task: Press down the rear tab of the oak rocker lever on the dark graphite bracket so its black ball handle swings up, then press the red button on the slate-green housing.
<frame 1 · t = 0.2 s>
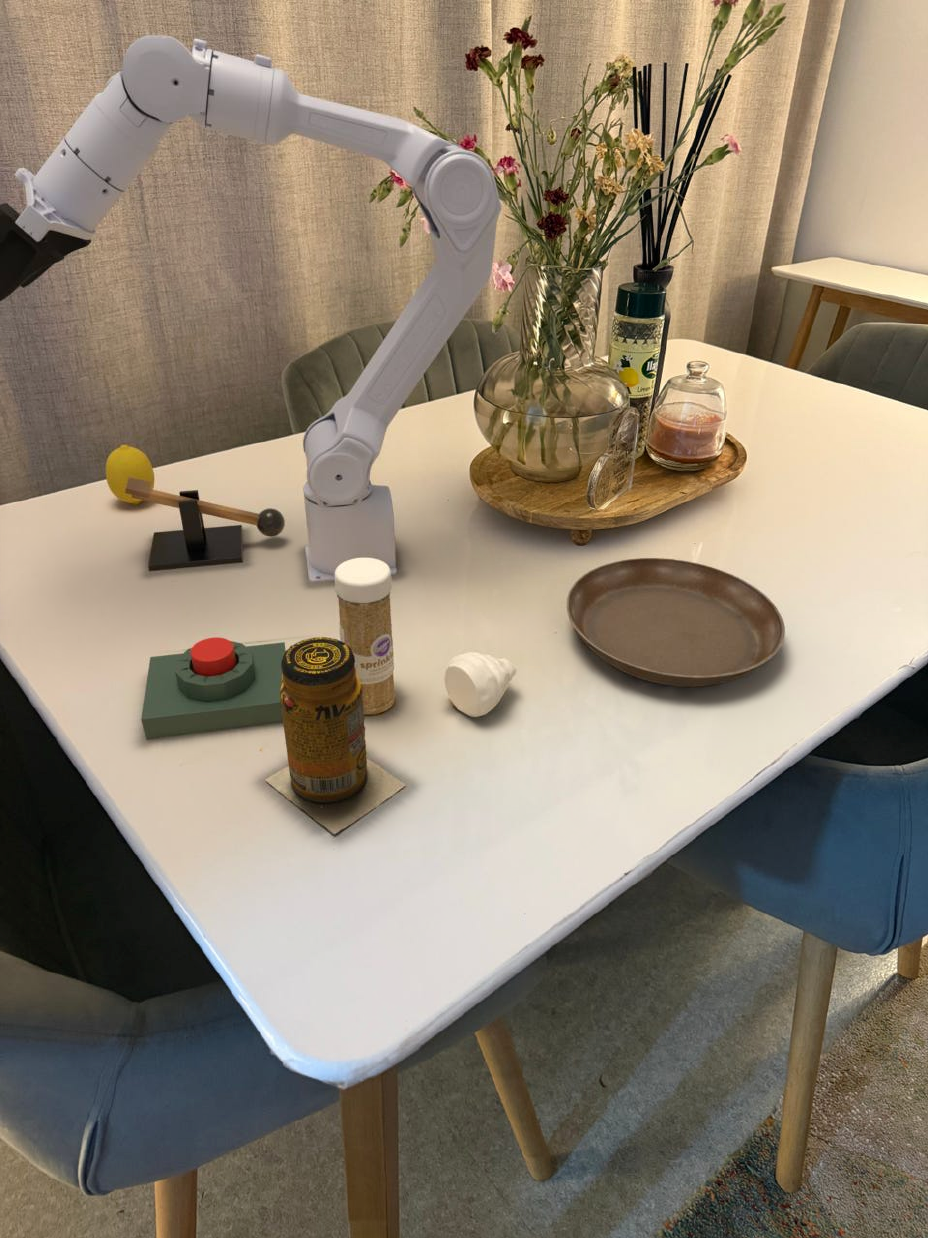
hand: (1, 286, 78), 31 cm above the table, tool tilted 45°, fingers open, 7 cm apart
condiment: (335, 786, 70), on the table
lever: (207, 508, 99), point 5 cm above the table, hinge at -20.0°
lemon: (136, 506, 111), on the table
button box: (220, 698, 79), on the table
sprinkles bottle: (370, 702, 79), on the table
white meringue: (485, 702, 79), on the table
bracket: (198, 552, 101), on the table
button: (213, 657, 76), point 4 cm above the table, slide at 0.1 cm
plant saucer: (669, 639, 87), on the table
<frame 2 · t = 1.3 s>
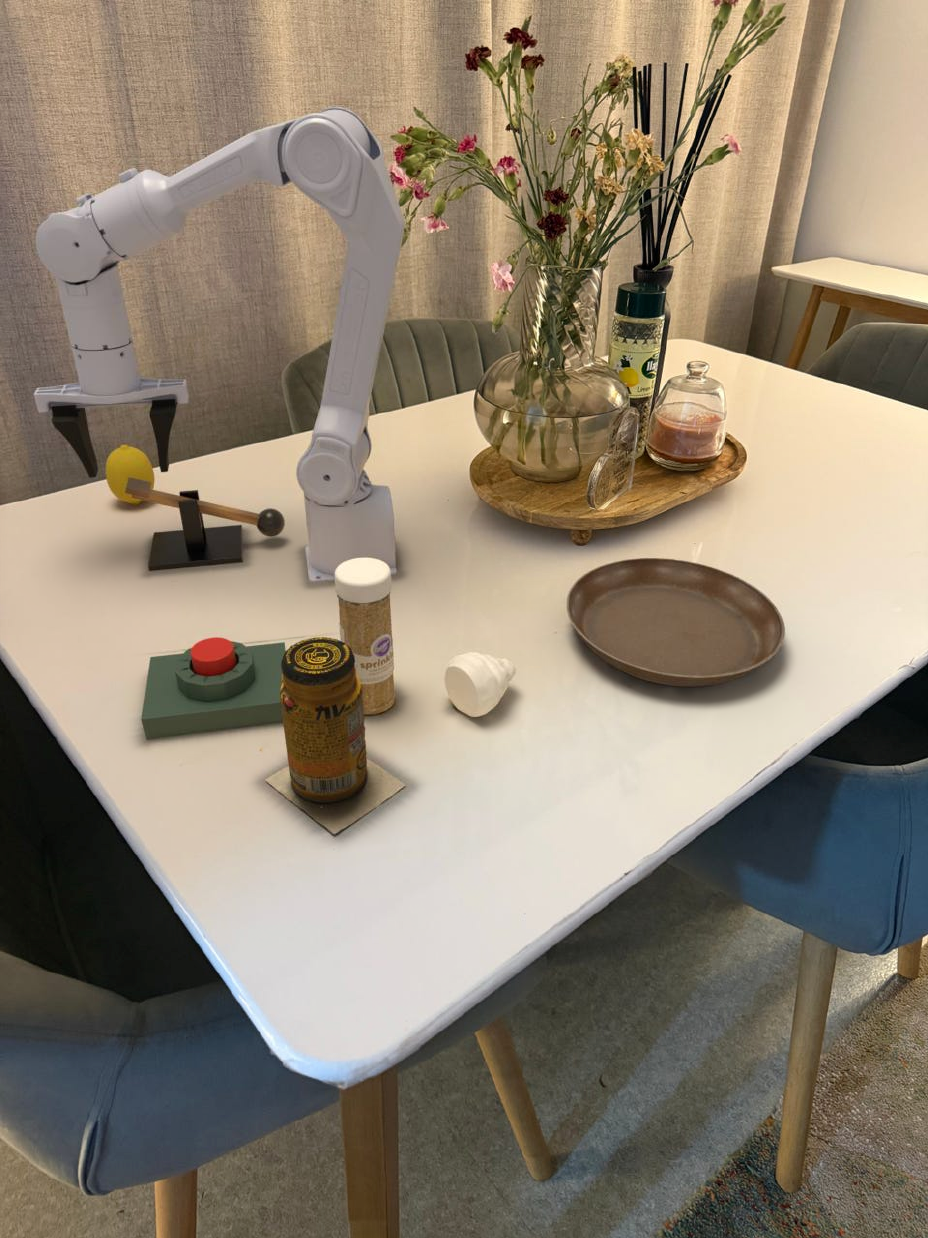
hand: (129, 471, 94), 10 cm above the table, tool pointing down, fingers open, 7 cm apart
nothing on the table moved.
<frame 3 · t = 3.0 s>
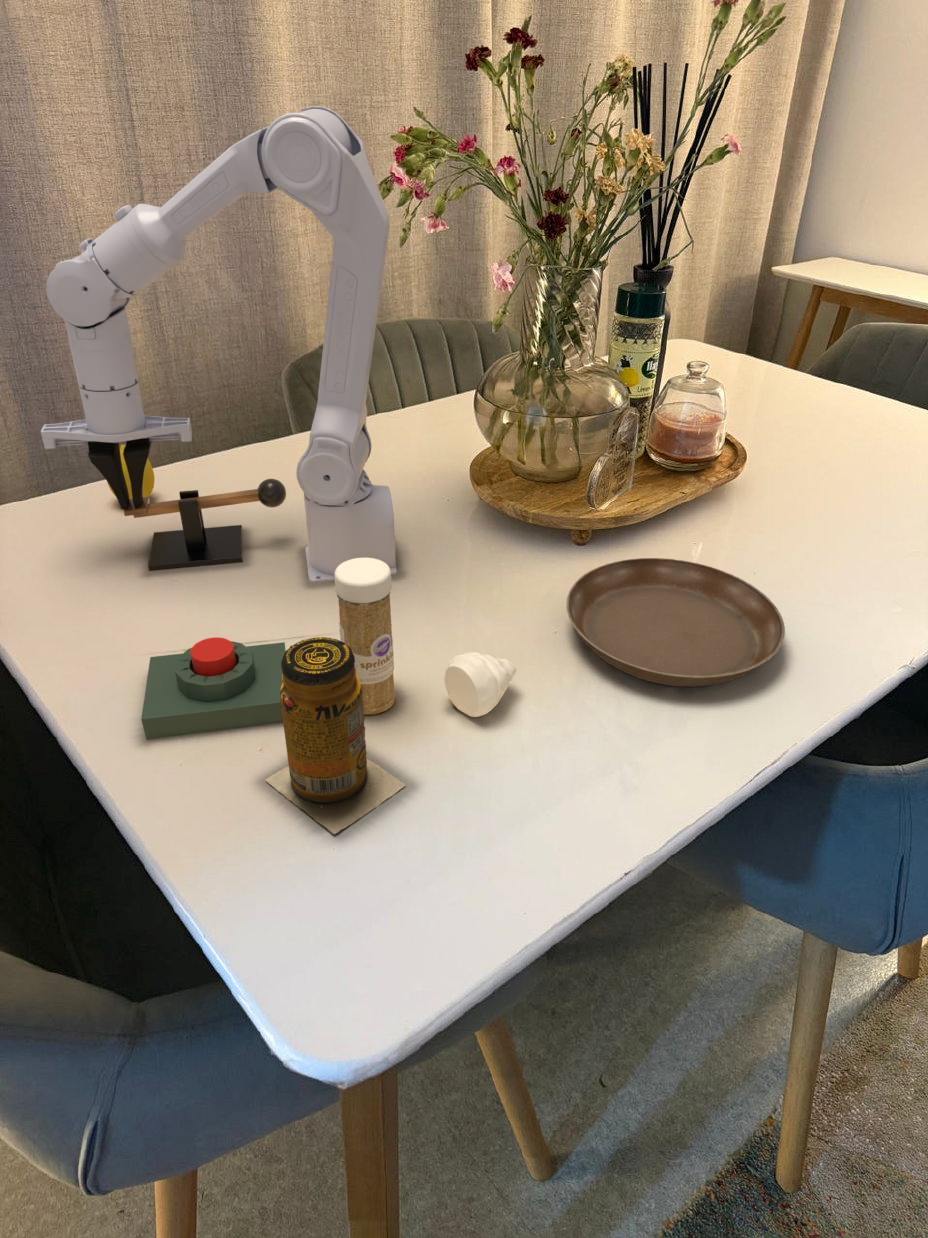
hand: (132, 505, 97), 6 cm above the table, tool pointing down, fingers closed, pressing on lever
lever: (207, 501, 98), point 6 cm above the table, hinge at 3.5°, touching gripper
everything else where it was.
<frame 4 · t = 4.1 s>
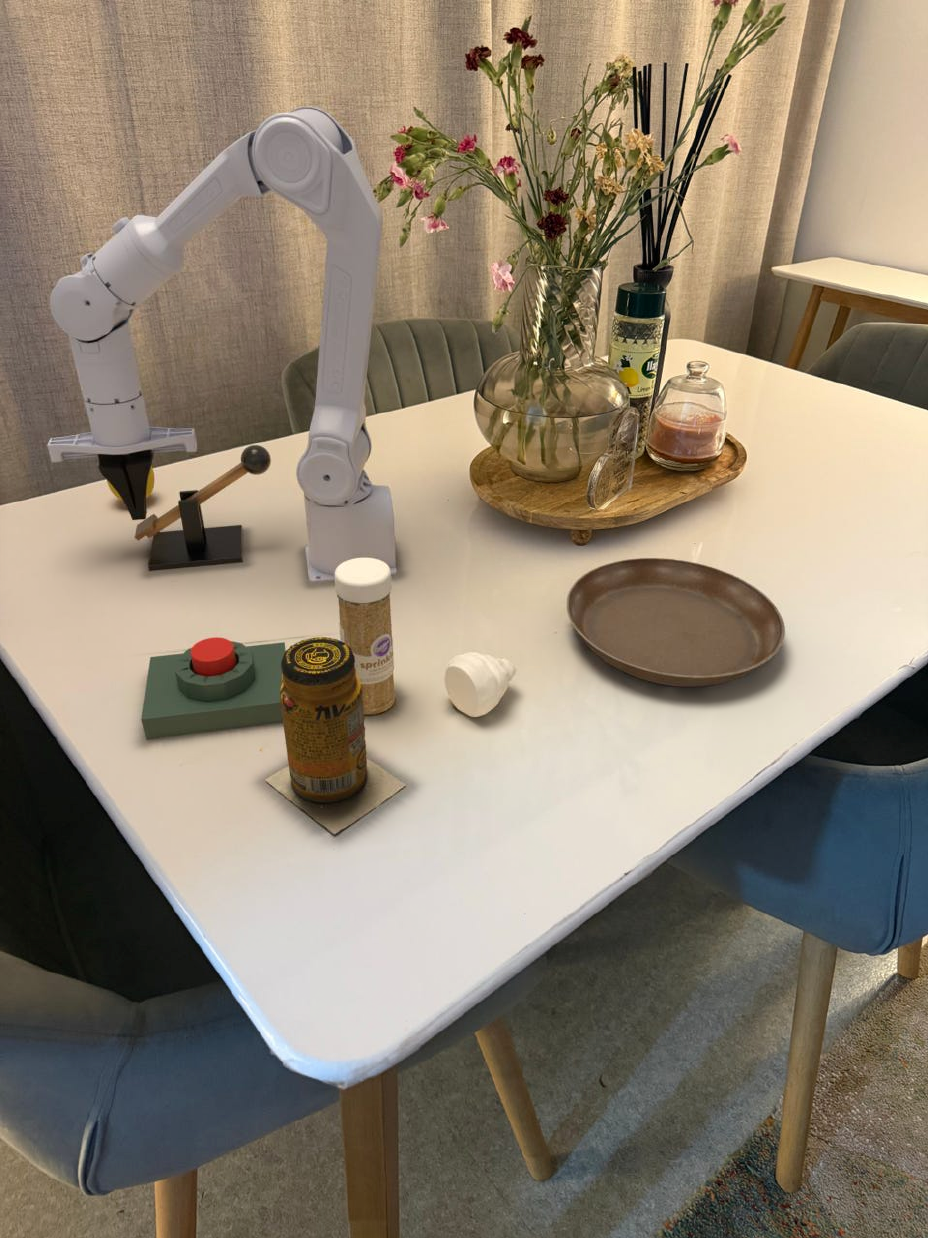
hand: (139, 515, 97), 5 cm above the table, tool pointing down, fingers closed
lever: (203, 494, 98), point 7 cm above the table, hinge at 30.9°
everything else where it was.
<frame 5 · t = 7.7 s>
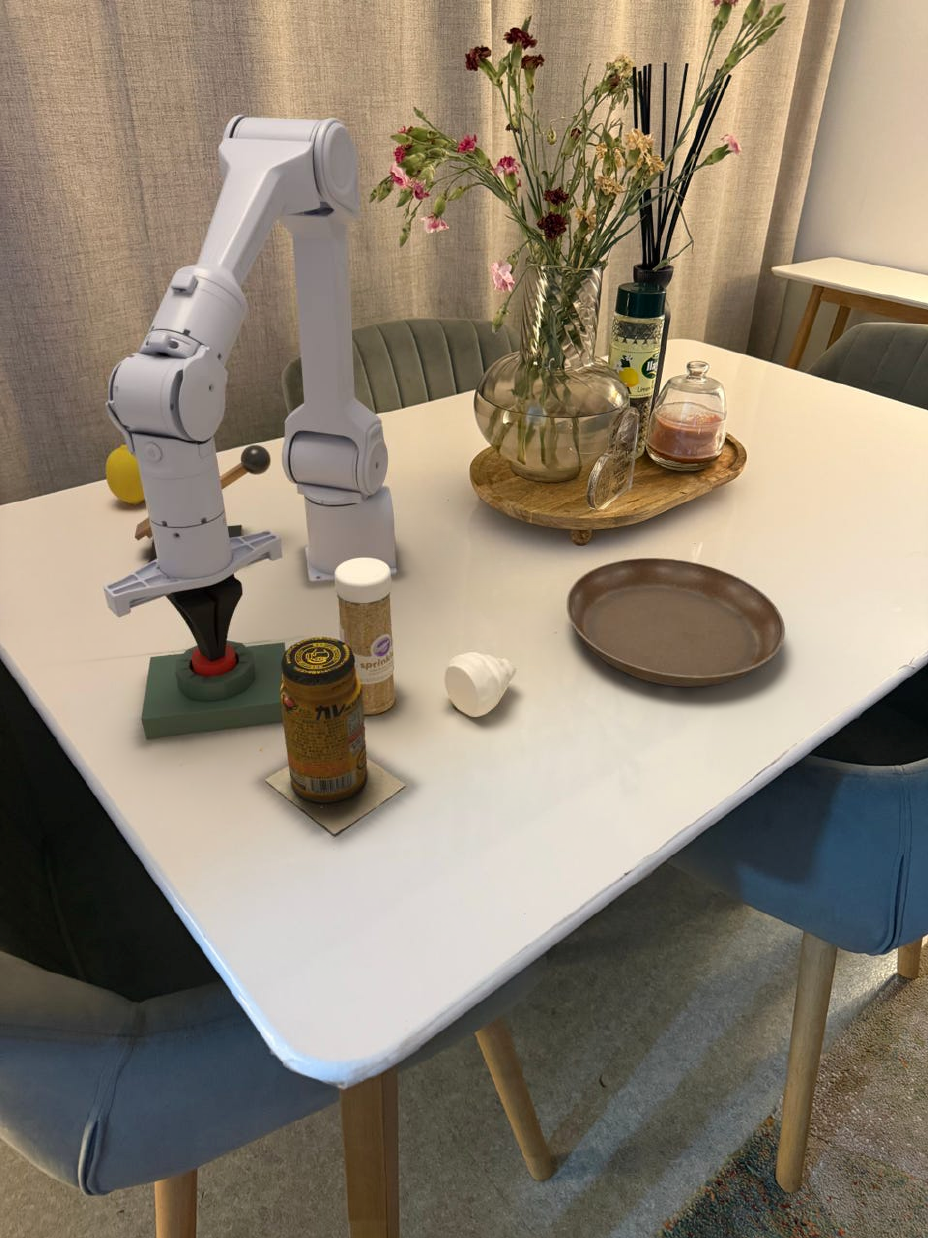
hand: (212, 654, 76), 5 cm above the table, tool pointing down, fingers closed, pressing on button
button: (214, 662, 77), point 4 cm above the table, slide at -0.5 cm, touching gripper
everything else where it was.
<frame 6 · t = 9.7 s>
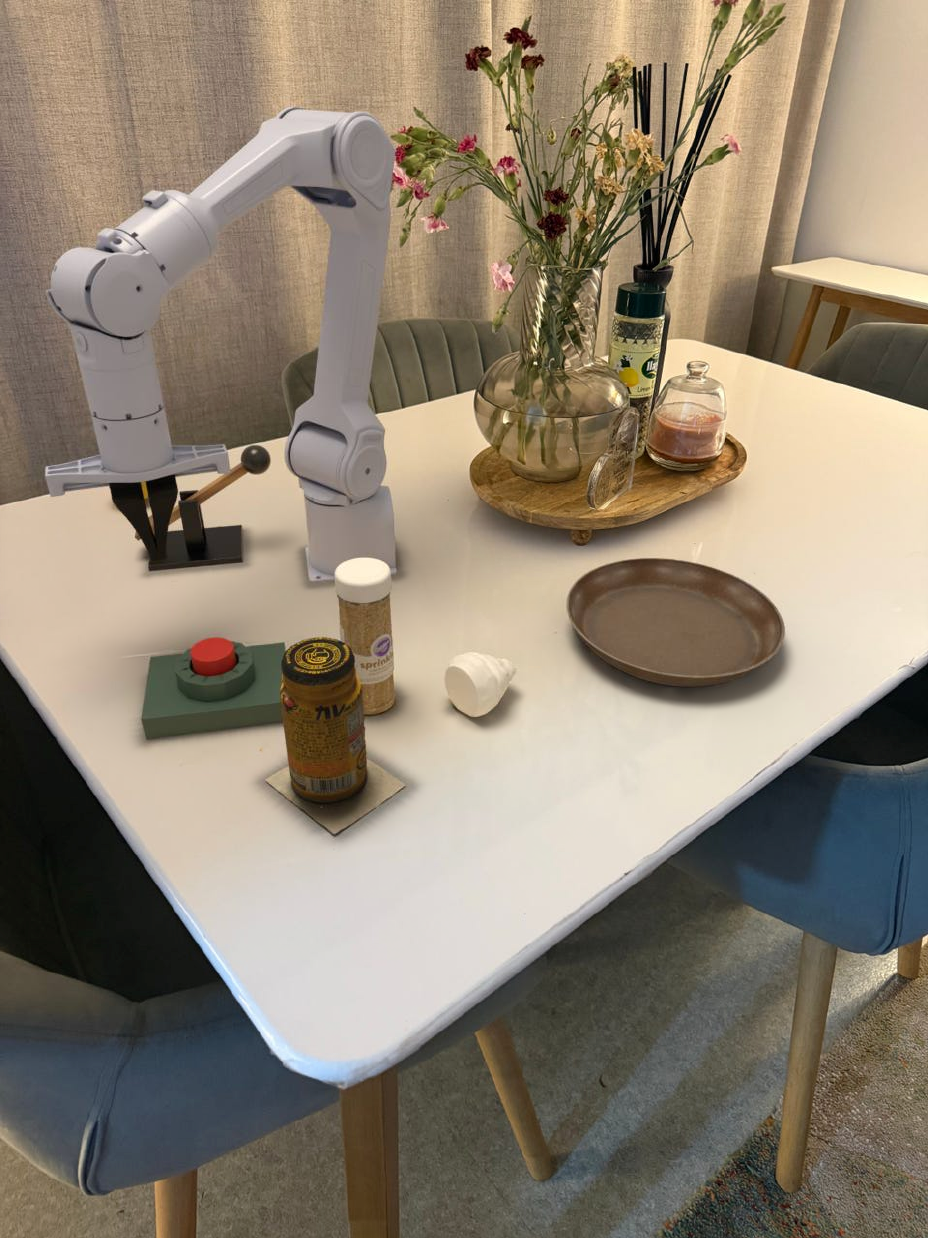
hand: (158, 555, 79), 10 cm above the table, tool pointing down, fingers closed
button: (213, 657, 76), point 4 cm above the table, slide at 0.1 cm
everything else where it was.
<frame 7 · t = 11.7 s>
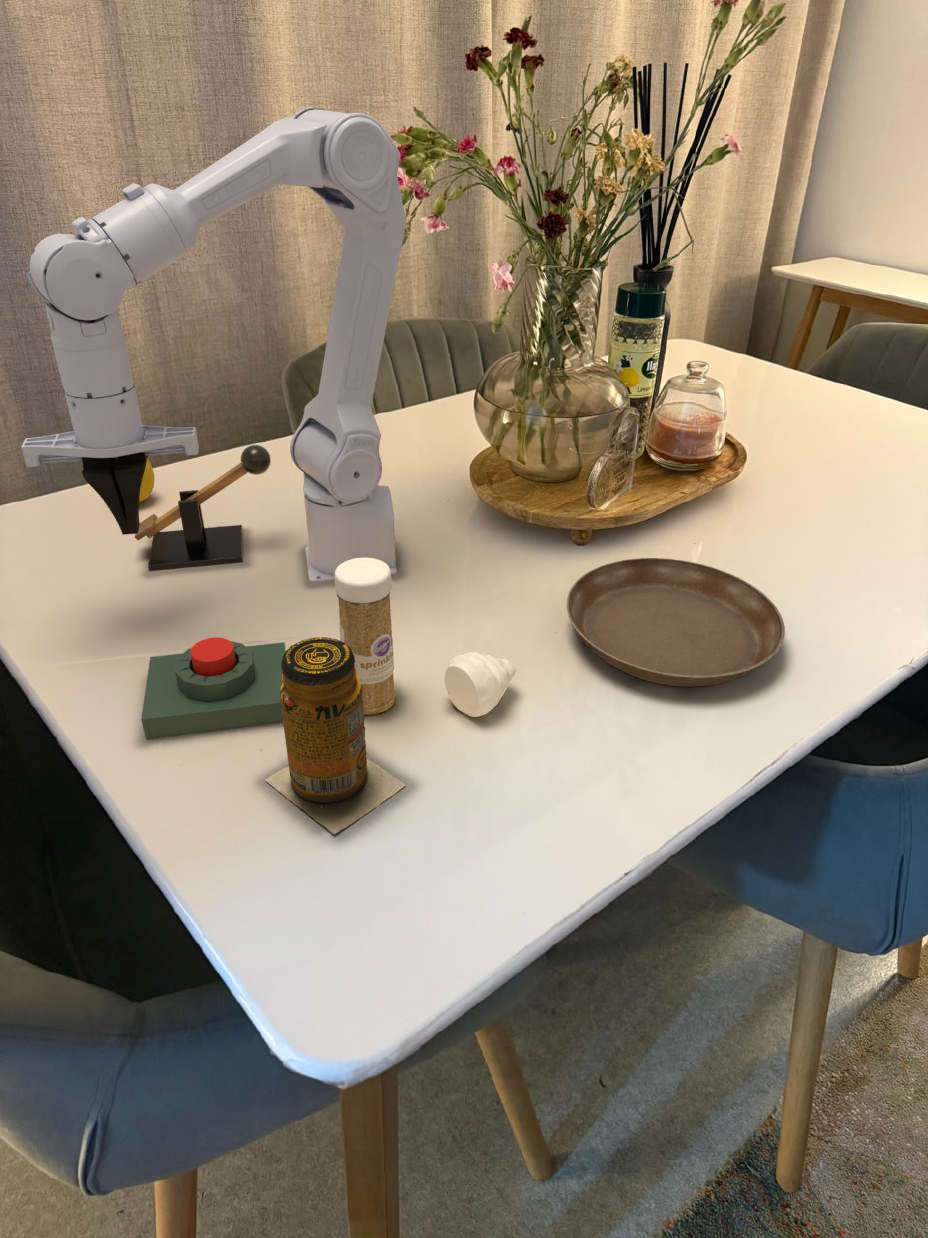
hand: (131, 529, 83), 10 cm above the table, tool pointing down, fingers closed
nothing on the table moved.
at the end: lever at +31° (first picture: -20°); button pushed in 1.2 cm at the most during the clip, back to where it started at the end; button slide at 0.1 cm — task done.
